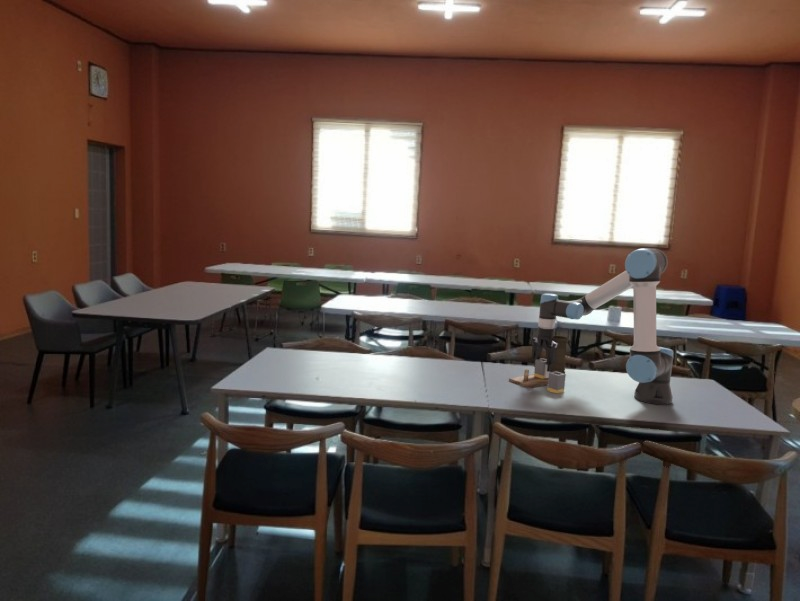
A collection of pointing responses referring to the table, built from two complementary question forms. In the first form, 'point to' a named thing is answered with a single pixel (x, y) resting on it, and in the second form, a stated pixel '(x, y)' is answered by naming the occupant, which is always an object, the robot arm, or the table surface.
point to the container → (560, 354)
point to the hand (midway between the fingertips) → (541, 376)
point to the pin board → (529, 380)
